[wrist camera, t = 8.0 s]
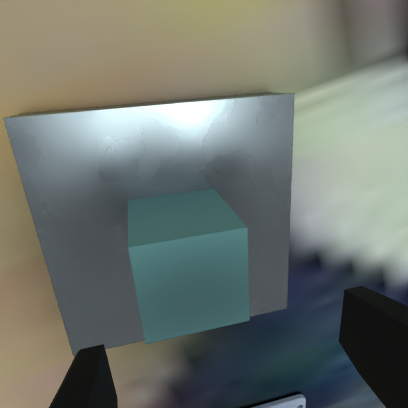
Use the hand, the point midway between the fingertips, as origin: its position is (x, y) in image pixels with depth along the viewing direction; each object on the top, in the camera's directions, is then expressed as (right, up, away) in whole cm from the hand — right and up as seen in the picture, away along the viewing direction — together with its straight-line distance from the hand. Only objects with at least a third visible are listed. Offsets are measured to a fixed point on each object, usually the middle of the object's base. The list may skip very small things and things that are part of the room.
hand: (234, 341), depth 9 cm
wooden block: (-2, +3, +6) cm, 7 cm away
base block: (-3, +3, +8) cm, 9 cm away
